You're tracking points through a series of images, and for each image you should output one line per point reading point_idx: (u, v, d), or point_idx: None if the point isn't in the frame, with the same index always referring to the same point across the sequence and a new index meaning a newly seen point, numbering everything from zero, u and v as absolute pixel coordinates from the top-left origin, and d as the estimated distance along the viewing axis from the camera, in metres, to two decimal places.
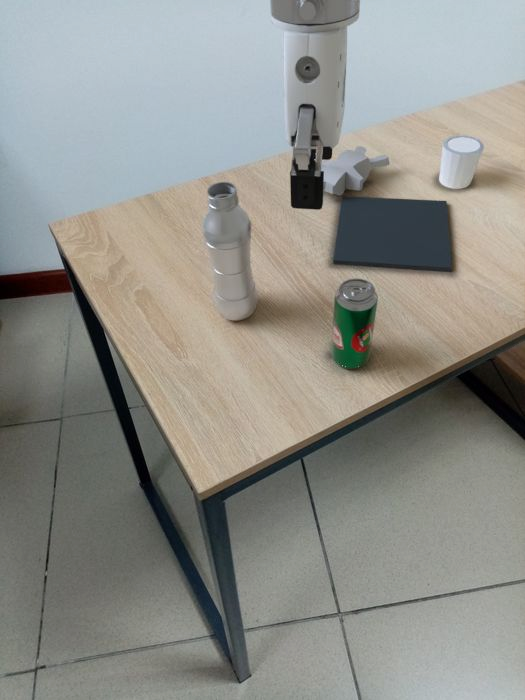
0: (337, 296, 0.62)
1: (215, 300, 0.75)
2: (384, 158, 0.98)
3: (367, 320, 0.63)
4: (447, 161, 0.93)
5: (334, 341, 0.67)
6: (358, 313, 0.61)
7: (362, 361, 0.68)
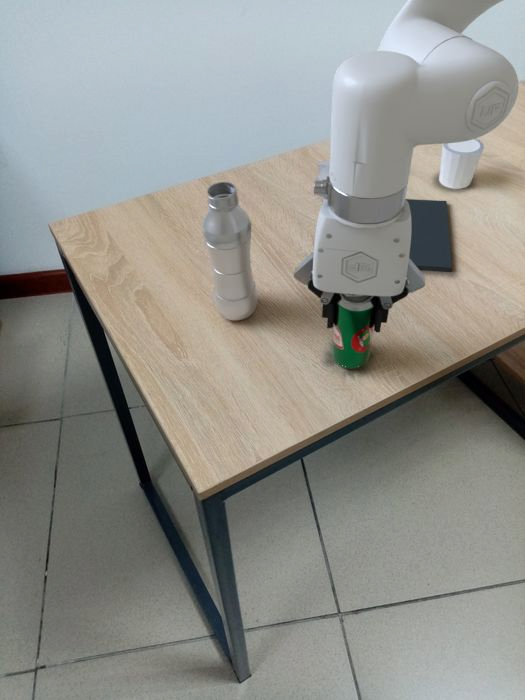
0: (337, 296, 0.62)
1: (215, 300, 0.75)
2: None
3: (367, 320, 0.63)
4: (447, 161, 0.93)
5: (334, 341, 0.67)
6: (358, 313, 0.61)
7: (362, 361, 0.68)
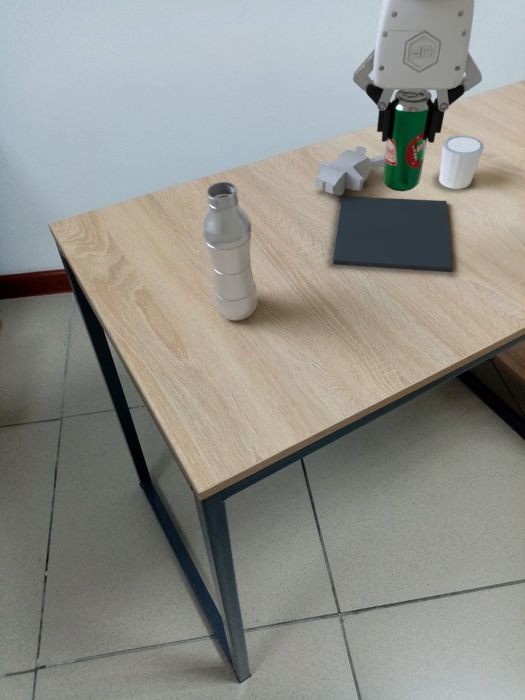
0: (394, 102, 0.65)
1: (215, 300, 0.75)
2: (384, 158, 0.98)
3: (423, 125, 0.65)
4: (447, 161, 0.93)
5: (387, 159, 0.70)
6: (415, 114, 0.64)
7: (414, 181, 0.71)
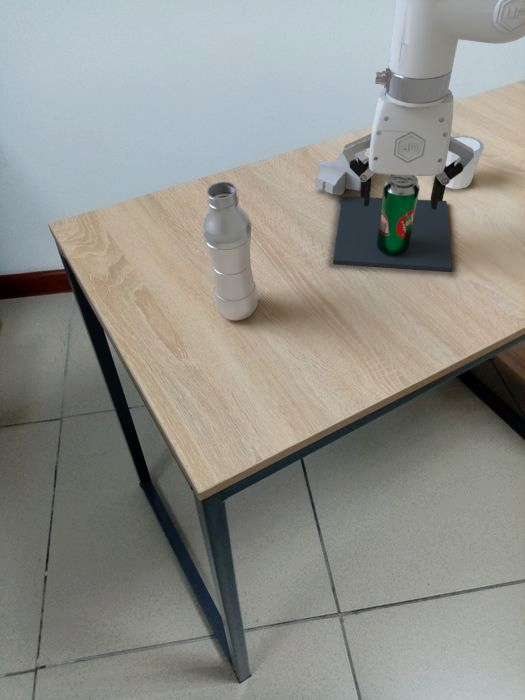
0: (386, 185, 0.76)
1: (215, 300, 0.75)
2: None
3: (411, 205, 0.76)
4: (447, 161, 0.93)
5: (381, 230, 0.81)
6: (404, 197, 0.75)
7: (403, 248, 0.82)
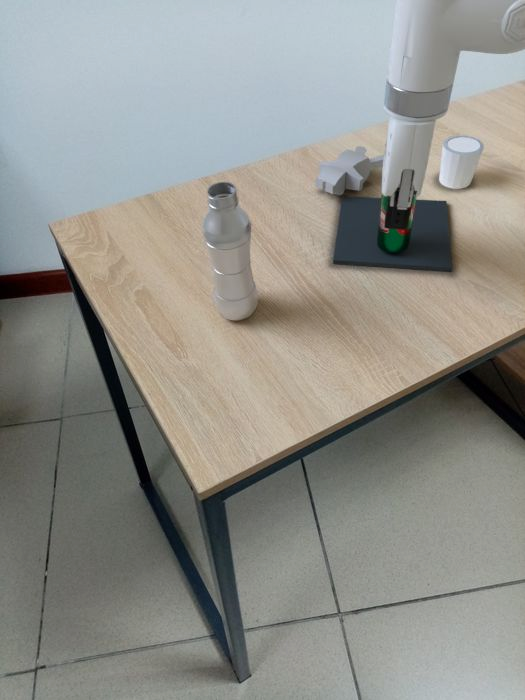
0: None
1: (215, 300, 0.75)
2: None
3: None
4: (447, 161, 0.93)
5: (380, 227, 0.81)
6: None
7: (404, 246, 0.82)
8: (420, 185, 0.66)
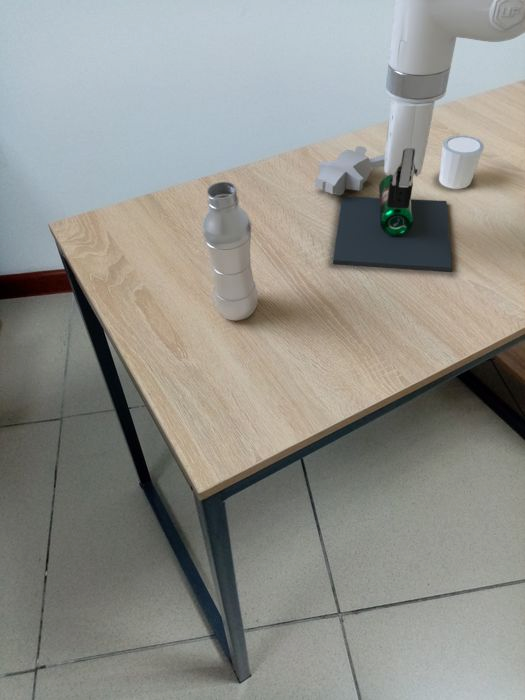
0: (382, 181, 0.91)
1: (215, 300, 0.75)
2: (384, 158, 0.98)
3: None
4: (447, 161, 0.93)
5: (384, 201, 0.86)
6: None
7: (410, 210, 0.84)
8: (420, 164, 0.70)
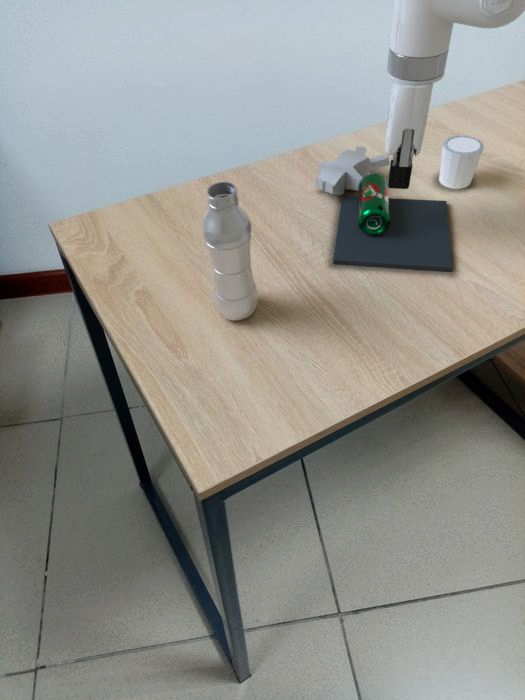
0: None
1: (215, 300, 0.75)
2: (384, 158, 0.98)
3: (366, 181, 0.89)
4: (447, 161, 0.93)
5: None
6: (360, 181, 0.91)
7: (366, 207, 0.84)
8: (419, 144, 0.73)
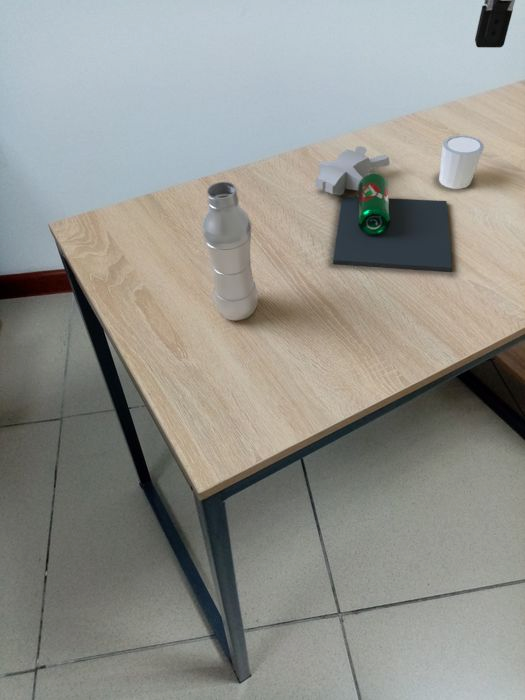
0: None
1: (215, 300, 0.75)
2: (384, 158, 0.98)
3: (366, 181, 0.89)
4: (447, 161, 0.93)
5: None
6: (360, 181, 0.91)
7: (366, 207, 0.84)
8: None
